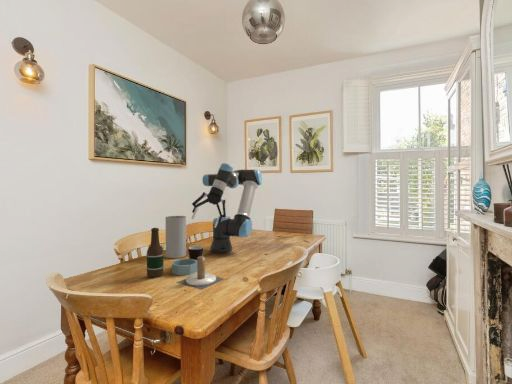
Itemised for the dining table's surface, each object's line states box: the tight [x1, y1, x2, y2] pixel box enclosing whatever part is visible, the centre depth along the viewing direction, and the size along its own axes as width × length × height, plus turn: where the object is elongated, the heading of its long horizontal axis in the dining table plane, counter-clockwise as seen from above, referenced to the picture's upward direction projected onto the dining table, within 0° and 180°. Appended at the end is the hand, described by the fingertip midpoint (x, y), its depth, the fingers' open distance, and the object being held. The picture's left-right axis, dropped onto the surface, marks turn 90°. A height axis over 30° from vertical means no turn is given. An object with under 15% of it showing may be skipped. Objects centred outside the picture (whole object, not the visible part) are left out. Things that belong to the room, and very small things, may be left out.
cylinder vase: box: [165, 215, 187, 259], centre depth 173 cm, size 12×12×25 cm
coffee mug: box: [187, 245, 204, 260], centre depth 156 cm, size 12×9×10 cm
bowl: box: [171, 258, 197, 276], centre depth 143 cm, size 12×12×5 cm
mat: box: [175, 276, 225, 291], centre depth 129 cm, size 16×16×1 cm
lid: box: [185, 256, 217, 286], centre depth 128 cm, size 14×14×11 cm
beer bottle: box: [146, 227, 165, 280], centre depth 135 cm, size 8×8×24 cm
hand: (203, 223), depth 153 cm, fingers open, 13 cm apart
